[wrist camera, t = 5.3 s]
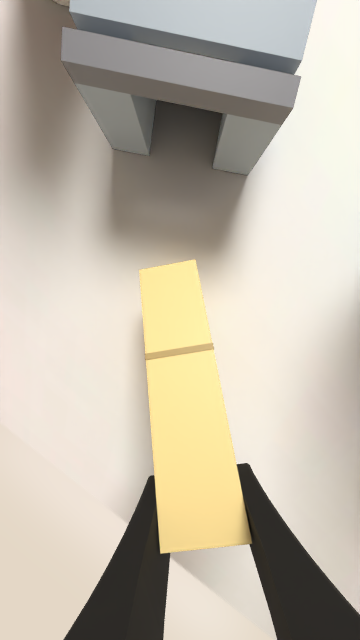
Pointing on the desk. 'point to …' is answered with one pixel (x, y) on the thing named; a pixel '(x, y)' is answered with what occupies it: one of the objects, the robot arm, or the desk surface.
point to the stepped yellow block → (188, 417)
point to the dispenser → (189, 67)
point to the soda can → (63, 2)
